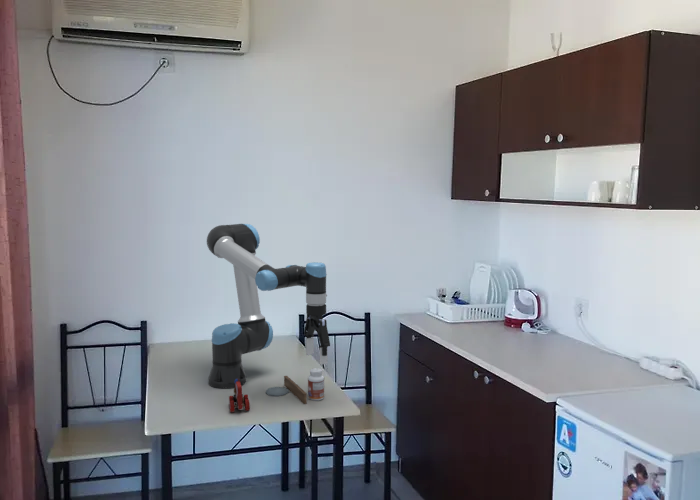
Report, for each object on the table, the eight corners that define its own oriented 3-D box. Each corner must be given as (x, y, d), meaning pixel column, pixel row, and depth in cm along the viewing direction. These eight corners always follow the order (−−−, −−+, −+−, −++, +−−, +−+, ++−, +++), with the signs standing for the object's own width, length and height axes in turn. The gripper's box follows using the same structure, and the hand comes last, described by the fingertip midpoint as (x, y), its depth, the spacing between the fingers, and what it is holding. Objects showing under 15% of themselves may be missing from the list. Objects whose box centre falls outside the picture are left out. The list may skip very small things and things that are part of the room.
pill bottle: (307, 395, 237) (307, 367, 236) (323, 394, 238) (323, 367, 237) (308, 401, 231) (308, 372, 230) (324, 400, 232) (324, 372, 231)
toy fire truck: (247, 401, 231) (247, 374, 229) (250, 413, 219) (249, 385, 217) (228, 403, 229) (228, 376, 228) (230, 415, 217) (230, 387, 216)
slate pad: (269, 397, 235) (269, 396, 234) (262, 390, 243) (262, 388, 243) (292, 394, 238) (292, 392, 238) (284, 386, 246) (284, 385, 246)
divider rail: (303, 404, 228) (303, 393, 228) (284, 385, 248) (284, 376, 247) (306, 403, 229) (306, 393, 228) (286, 385, 248) (286, 375, 248)
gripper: (339, 309, 221) (339, 366, 223) (313, 297, 243) (313, 349, 245) (319, 311, 217) (320, 369, 220) (295, 298, 240) (295, 351, 242)
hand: (316, 359), depth 233 cm, fingers open, 13 cm apart
